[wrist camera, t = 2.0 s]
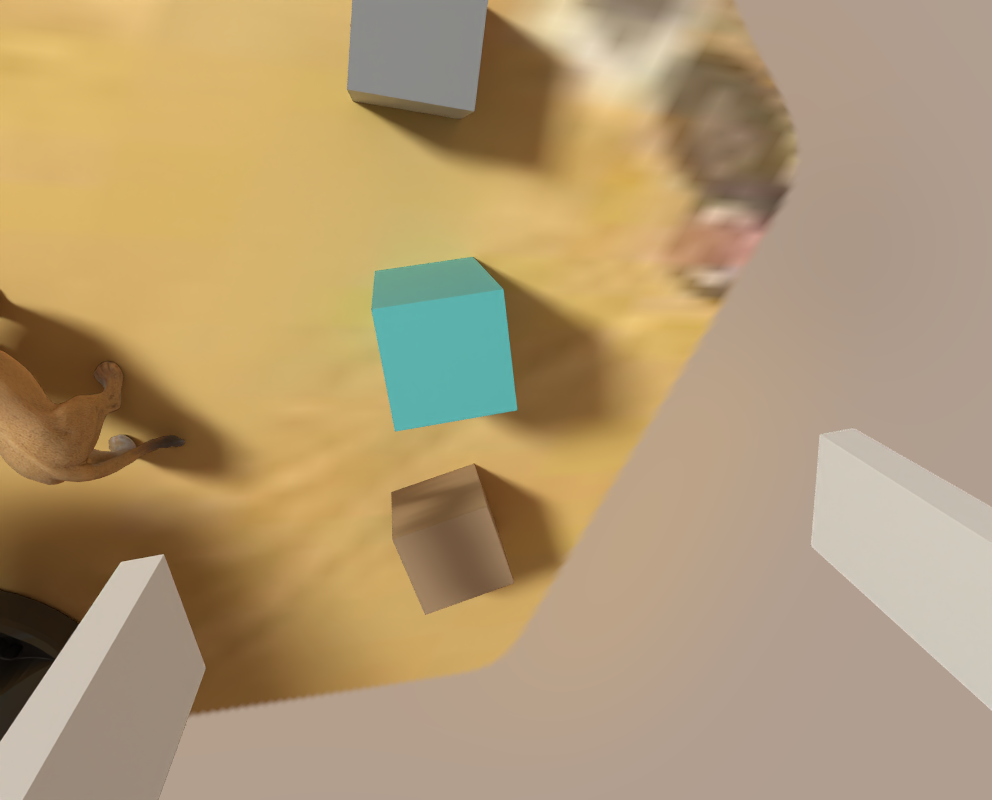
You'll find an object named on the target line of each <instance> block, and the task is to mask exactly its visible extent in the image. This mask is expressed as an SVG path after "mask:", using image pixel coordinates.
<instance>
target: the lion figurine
mask: <svg viewBox="0 0 992 800" xmlns="http://www.w3.org/2000/svg"><path fill="white" fill-rule="evenodd" d="M94 377H95V378H96V380H97V381H98V382H99V383H100V384H102V385H103V386H104V391H103V392H101V393H99V394H92V395H78V396H75V397H73V398H71V399H70V400H68V401H66V402H64V403H61V404H55V403H53V402H52V401H50V400H49V399H48V398H47V397H46V395H45V393H44V391H43V390H42V388H41V387H40V385H39V383H38V382H37V381H36V380H35V378H34V377H33V375H32V374H31V373H30V372H29V371H28V370H27V369H26V368H25V367H24V366H23V365H21V364H20V363H19V362H18V361H17V360H15V359H14V358H12V357H11V356H10V355H8V354H7V353H5V352H3V351H1V350H0V455H1V456H2V457H3V459H4V460H5V461H6V462H7V463H8V464H9V466H11V467H12V468H13V469H14V470H15V471H16V472H17V473H19V474H20V475H22V476H24V477H26V478H28V479H31V480H35V481H38V482H41V483H45V484H48V485H54V484H59V483H62V482H64V481H72V482H82V481H90V480H95V479H99V478H102V477H105V476H108V475H110V474H112V473H114V472H116V471H118V470H120V469H122V468H123V467H125V466H127V465H129V464H130V463H132V462H133V461H135V460H136V459H138V458H139V457H141V456H143V455H145V454H146V453H149V452H151V451H154V450H157V449H159V448H169V447H178V446H182V445H184V443H185V440H182V439H180V438H178V437H176V436H173V435H169V436H162V437H159V438H156V439H152V440H150V441H148V442H146V443H144V444H142V445H140V446H137V447H136V445H135V443H134V442H133V441H132V440H131V439H130V438H129V437H127V436H125V435H118V436H114V437H111V438H110V440H109V449H110V450H111V452H107V451H99V450H96V449H94V447H95V445H96V443H97V441H98V438H99V435H100V432H101V429H102V425H103V422H104V419H105V417H106V415H107V414H108V413H110V412H113V411H115V410H117V409H119V408H120V406H121V388H122V385H123V374H122V372H121V369H120V368H119V366H118V365H117V364H115V363H114V362H106V361H105V362H103V363H101V364H100V365H99V366H98V367H97V368H96V370H95V371H94Z"/></svg>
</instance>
